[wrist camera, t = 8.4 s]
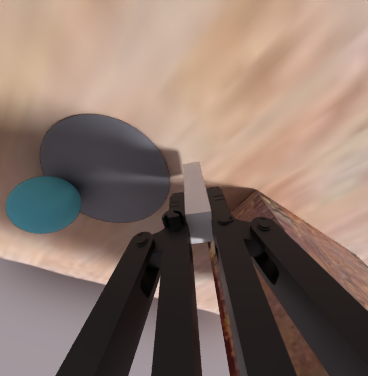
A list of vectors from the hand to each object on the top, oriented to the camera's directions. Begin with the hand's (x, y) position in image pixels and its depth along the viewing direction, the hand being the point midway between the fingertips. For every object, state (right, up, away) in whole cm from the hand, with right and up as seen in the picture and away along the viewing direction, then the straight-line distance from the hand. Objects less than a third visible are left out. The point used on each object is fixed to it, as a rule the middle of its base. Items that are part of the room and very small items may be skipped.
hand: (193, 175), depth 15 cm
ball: (-14, -3, 0) cm, 14 cm away
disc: (-9, 0, +2) cm, 9 cm away
